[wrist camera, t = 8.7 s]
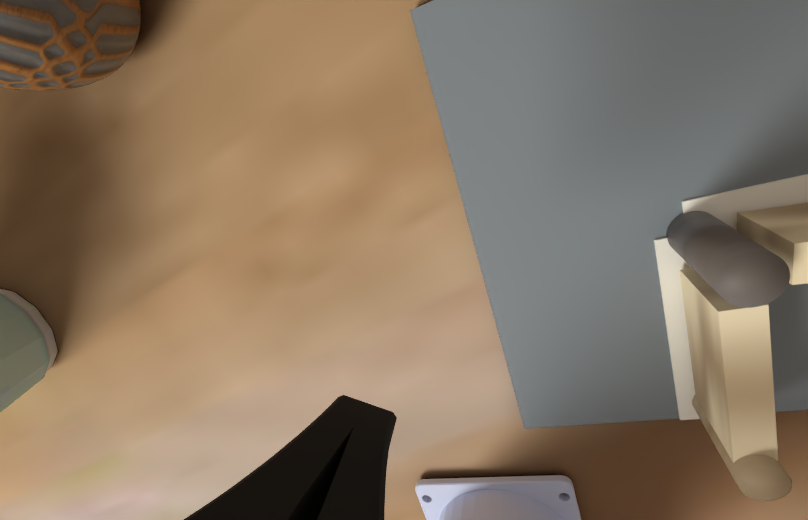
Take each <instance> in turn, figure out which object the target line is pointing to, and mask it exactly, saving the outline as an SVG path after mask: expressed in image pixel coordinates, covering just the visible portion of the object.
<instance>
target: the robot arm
mask: <svg viewBox="0 0 808 520" xmlns="http://www.w3.org/2000/svg"><path fill="white" fill-rule="evenodd" d="M395 422H396V416H395V415H394V413H393V412H391V411H388V410H385V409H382V408H379V407H376V406H374V405H371V404H368V403H365V402H362V401H359V400H356V399H353V398H351V397H348V396H345V395H342V396H340V397H338V398H337V399H336V400H335V401H334V402H333V403H332V404H331V405H330V406H329V407H328V408H327V409H326V410H325V411H324V412H323V413H322V414H321V415H320V416H319V417H318V418H317V419H316V420H315V421H314V422H312V423H311V424H310V425H309V426H308V427H307V428H306V429H305V430H303V431H302V432H301V433H300V434H299V435H298V436H297V437H295V438H294V439H293V440H292V441H291V442H289V443H288V444H287V445H286V446H285V447H283V448H282V449H281V450H280V451H279V452H277V453H276V454H275V455H274V456H273V457H271V458H270V459H269V460H267V461H266V462H265V463H264V464H262V465H261V466H260V467H258V468H257V469H256V470H254V471H253V472H252V473H250V474H249V475H248V476H246V477H245V478H244V479H242V480H241V481H240V482H238V483H237V484H236V485H234V486H233V487H232V488H230V489H229V490H227V491H226V492H224V493H223V494H222V495H220V496H219V497H217V498H216V499H214V500H213V501H211V502H210V503H208V504H207V505H205V506H204V507H202V508H201V509H199V510H198V511H196V512H195V513H193V514H192V515H190V516H189V517H187V518H186V519H184V520H384V503H385V480H386V467H387V459H388V450H389V446H390V442H391V438H392V434H393V430H394V426H395ZM415 491H416V494H417V496H418V499H419V501H420V504H421V507H422V509H423V512H424V514H425V517H426V520H581V516H580V511H579V507H578V503H577V499H576V495H575V491H574V487H573V483H572V481H571V479H569V478H568V477H566V476H563V475H545V476H512V477H478V478H445V479H421V480H419V481H417V484H416V487H415ZM561 493H566V494H561Z"/></svg>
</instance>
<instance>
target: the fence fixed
mask: <svg viewBox="0 0 808 520" xmlns="http://www.w3.org/2000/svg"><path fill="white" fill-rule="evenodd" d="M666 237H667V239H668V243H669V245H670V246H671V247H672V248H673V249H674V250H675V251H676V252H677V253H678V254H679V255H680V256H681V257H682V258H683V259H684V260H685V261H686V262H687V263H688V264H689V265H690V266H691V267H692V268H687V269H681V270H680V278H681V285H682V293H683V301H684V309H685V317H686V325H687V333H688V340H689V348H690V356H691V364H692V372H693V380H694V388H695V395H694V397H693V399H692V405H693V407H694V409H695V411H696V413H697V414H698V416H699V418H700V420H701V422H702V423H703V425H704V427H705V429H706V430H707V432H708V434H709V436H710V438H711V439H712V441H713V443H714V445H715V446H716V448H717V450H718V452H719V454H720V455H721V457H722V459H723V461H724V463H725V464H726V466H727V468H728V470H729V471H730V473H731V475H732V477H733V479H734V480H735V482H736V484H737V486H738V487H739V489H740V491H741V492H742V493H743V494H744V495H746V496H747V497H749V498H751V499H755V500H759V501H772V500H776V499H779V498H782V497H784V496H785V495H786V494H788V493H789V491H790V490H791V487H792V481H791V479H790V477H789V476H788V474H787V473H786V471H785V470H784V469H783V467H782V466H781V464H780V463H779V461H778V448H777V432H776V416H775V400H774V385H773V369H772V353H771V337H770V321H769V305H768V303H770V302H772V301H774V300H775V299H777V298H778V297H779V296H780V295H781V294H782V293H783V292H784V291H785V289H786V288H787V286H788V284H789V281H790V270H789V267H788V265H787V264H786V262H785V261H784V260H783V259H782V258H780V257H779V256H777V255H776V254H774V253H772V252H771V251H769V250H768V249H766V248H764V247H763V246H761V245H759V244H758V243H756V242H755V241H753V240H751V239H750V238H748V237H747V236H745V235H743V234H742V233H740V232H739V231H737V230H735V229H734V228H732V227H730V226H729V225H727V224H726V223H724V222H722V221H721V220H719V219H718V218H716V217H714V216H713V215H711V214H709V213H707V212H703V211H691V212H687V213H685V214H684V213H682V214H680V215H678V216H677V217H676V218H674V219H673V220H672V221H671V223H670V224H669V226H668V228H667V232H666Z"/></svg>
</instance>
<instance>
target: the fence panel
mask: <svg viewBox="0 0 808 520" xmlns="http://www.w3.org/2000/svg"><path fill="white" fill-rule="evenodd" d="M737 231H739V232H740V233H742V234H743V235H745V236H747V237H748V238H750V239H751V240H753V241H755V242H756V243H758V244H759V245H761V246H763V247H764V248H766V249H768V250H769V251H771V252H772V253H774V254H776V255H777V256H779V257H780V258H782V259H783V260H784V261H785V262H786V264H787V265H788V267H789V270H790V281H789V283H790V284H791V285H797V284H808V203H802V204H795V205H787V206H780V207H773V208H766V209H759V210H751V211H744V212H737Z"/></svg>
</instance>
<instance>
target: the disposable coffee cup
mask: <svg viewBox="0 0 808 520" xmlns="http://www.w3.org/2000/svg"><path fill="white" fill-rule="evenodd" d="M57 352H58V350H57V347H56V343H55V339H54V335H53V331H52V329H51V328H50V326H49V325H48V323H47V322H46V321H45V319H44V318H43V317H42V315H41V314H40V312H39V311H38V310H37V308H36V307H34V306H33V305H32V304H30V303H29V302H27V301H26V300H25V299H23V298H22V297H20V296H19V295H18V294H16V293H15V292H12V291H8V290H4V289H0V412H1V411H3V410H4V409H5V408H6V407H8V406H9V405H10V404H11V403H13V402H14V401H15V400H16V399H18V398H19V397H20V396H21V395H23V394H24V393H25V392H26V391H28V390H29V389H30V388H31V387H33V386H34V385H35V384H36V383H38V382H39V381H40V380H41V379H43V378H44V376H45V373H46V371H47V370H49V369H50V368H51V367H52V366H53V363H54V360H55V358H56V355H57Z"/></svg>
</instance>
